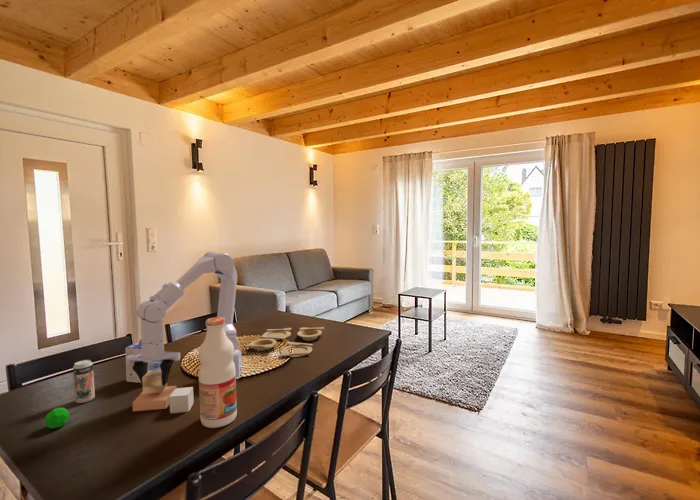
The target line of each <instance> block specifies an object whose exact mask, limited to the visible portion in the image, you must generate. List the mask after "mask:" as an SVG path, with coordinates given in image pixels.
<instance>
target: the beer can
mask: <svg viewBox="0 0 700 500" xmlns="http://www.w3.org/2000/svg"><path fill="white" fill-rule="evenodd" d="M72 369H73V384H74V395H75V396H74V397H75V403H77V404H85V403H88V402H90V401H92V400H93V399H94V398H95V397H96V394H95V393H96V392H95V378H94V377H95V375H94V363H93V362H92V361H91V359H83V360H79V361H76V362H74V365H73V367H72Z"/></svg>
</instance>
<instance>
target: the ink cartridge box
mask: <svg viewBox="0 0 700 500" xmlns="http://www.w3.org/2000/svg"><path fill="white" fill-rule="evenodd" d="M137 354H142V341H141V339H140V340H139V342H135V343H133V344H130V345H128V346H126V347H125V358H126V357H128V356H129V355H137ZM161 363H162V361H154V362H148V368H147V372H148V371H149V370H161V368H160V364H161ZM133 366H134V363H130V364H126V363H125V374H126V375H125V377H126V378H125V381H126V382H127V383H129V382H130V383H140V384H141V381H140V379H139V377H138V375H137V374H136V372H135V371H134V370H133V368H132V367H133Z"/></svg>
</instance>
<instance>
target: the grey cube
mask: <svg viewBox="0 0 700 500" xmlns="http://www.w3.org/2000/svg"><path fill="white" fill-rule="evenodd" d="M194 398H195V397H194V386H189V387H188V386H187V387H177V388H175V389H174V391H173V392H172V394H171V395H170V396H169V401H170V404H169V413H170V414H177V413H178V414H179V413H188V412H190V410H191V409H192V406H193V405H194V403H195V401H194V400H195V399H194Z"/></svg>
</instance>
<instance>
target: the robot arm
mask: <svg viewBox="0 0 700 500" xmlns="http://www.w3.org/2000/svg"><path fill="white" fill-rule="evenodd" d="M235 261H236V260H235V259H234V257H232V255H230V254H229V253H227V252H215V251H207V252H206V253H205V254H204V255H203V256H201V257H199V258H198V260H197V261H196V262H195V263H194V264H193V265H192V266H191V267H190V268H189V269H188V270H186V272H185V273H184V274H183V275H181V276H180V277H179V279H177V280H176V281H175V282H172V281H171V282H168V283H164V284H163V285H162V286H161V287H162V288H161V289H160V290H158V292H156V293H155V294H154V295H150V296H149V298H148V299H149V300H145V301H142V302H141V303H139V305H138V308H137V310H136V312H135V313H136V315H137V317H138V318H139V319H140V334H141V336H140V337H141V338H140V340H141V341H142V354H137V355H129V356H128V357H126V356H125V365H126V364H130V363H134V366H133V367H132V368H133V370H134V371H135V372H136V374H137V375H138V377H139V379H140V381H141V383H140V384H141V386H142V388H143V382H142V377H143V376H144V375H145V374H146V373H147V368H148V362H154V361H161V364H160V368H161V372H162V384H163V385H166V384H167V383H168V381H169V376H170V372H171V368H172V366H173V364H174V362H178V361H180V360H181V352H179V351H178V352H177V351H175V352H174V351H165V342H164V341H165V339H164V325H163V324H164V323H163V319H164V318H165V317H166V315H167V311H168V310H169V309H170V308H171V307H172V306H173V305H174V304H176V302H178V300H180V299H181V298H183V296H184V293H185V292H184V291H185V289H186V288H188V287H189V286H191V284H193V283H194V282H196V281H197V280H198V279H199V278H200V277H202V276H203V275H204V274H210V273H214V274H215V275H216V276H217V277H218V278H219V279H220V283H219V295H218V305H217V314H216V315H217V316H216V317H223V318H225V325H224V330H225V333H226V336H227V337H228V339H229V340H230V341H231V342H232V343H233V345H234V355H233V362H234V364H235V370H236V380H239V379H240V376H241V373H242V371H243V369H242V368H243V366H242V363H243V362H242V350H239V349H237V348H238V346H239V345H238V344H239V339H238V337H237V335H238V334H237V329H236V328H235V326H234V314H235V306H236V305H235V304H236V295H237V294H236V293H237V286H238V285H237V284H238V272H237V269H236V265H235Z"/></svg>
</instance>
